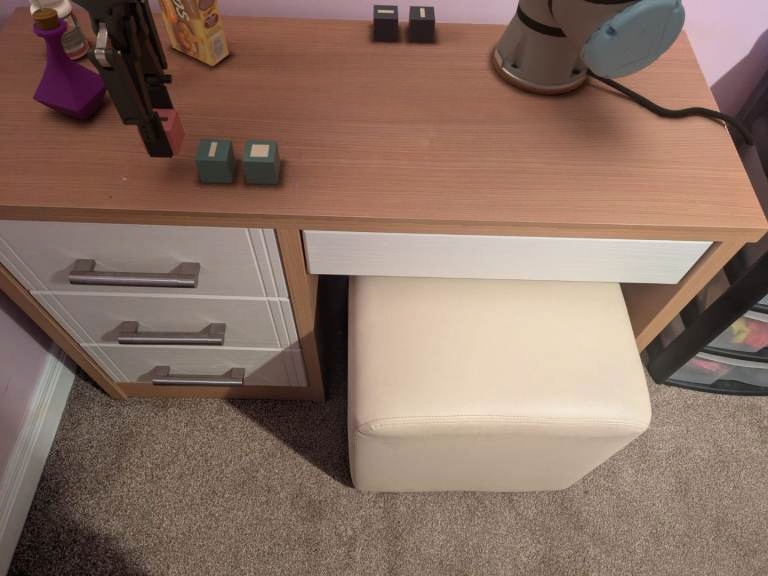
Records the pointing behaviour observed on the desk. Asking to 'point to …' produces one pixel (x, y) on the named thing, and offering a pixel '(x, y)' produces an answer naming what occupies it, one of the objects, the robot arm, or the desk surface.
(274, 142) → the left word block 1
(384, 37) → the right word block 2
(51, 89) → the purple potion bottle
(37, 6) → the pill bottle
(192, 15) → the candy box
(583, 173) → the desk surface
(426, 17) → the right word block
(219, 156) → the left word block
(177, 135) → the red minus sign block
